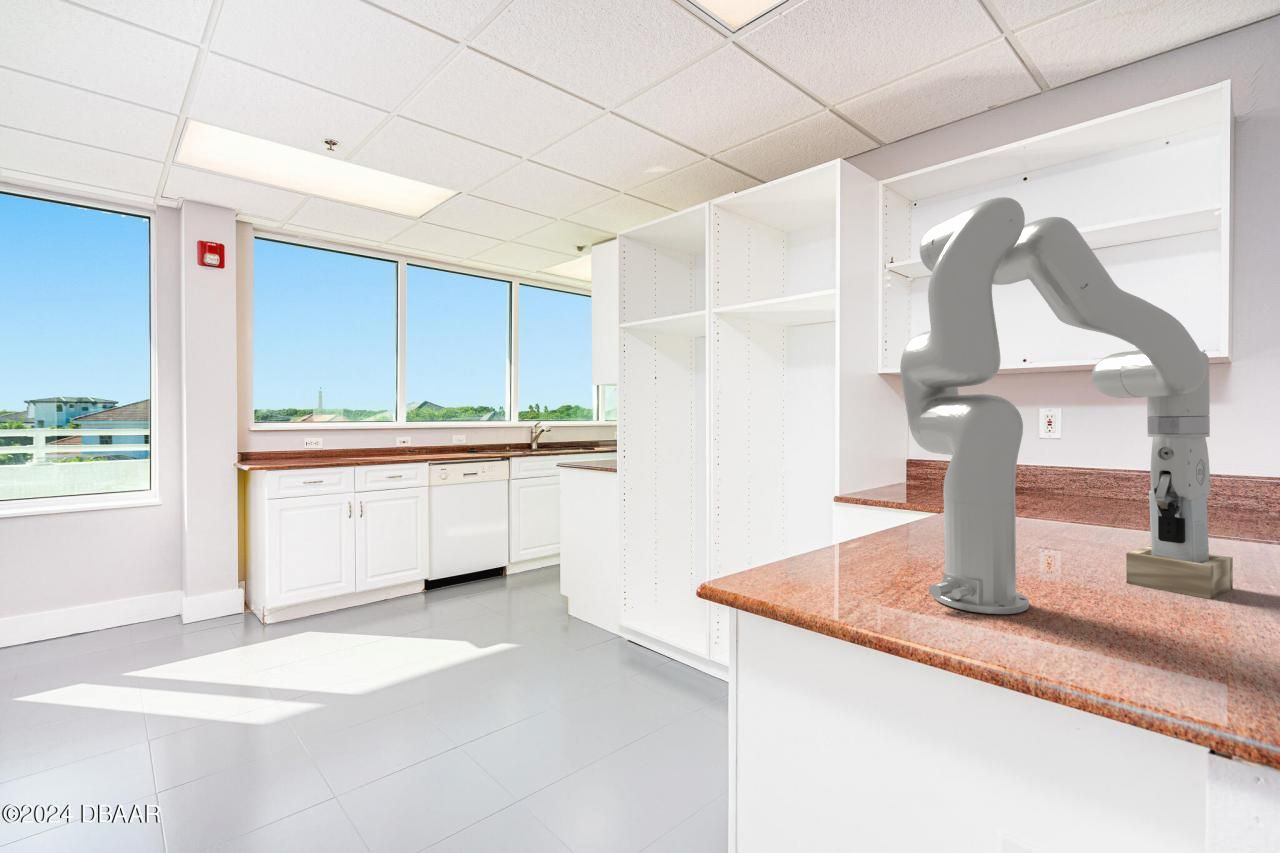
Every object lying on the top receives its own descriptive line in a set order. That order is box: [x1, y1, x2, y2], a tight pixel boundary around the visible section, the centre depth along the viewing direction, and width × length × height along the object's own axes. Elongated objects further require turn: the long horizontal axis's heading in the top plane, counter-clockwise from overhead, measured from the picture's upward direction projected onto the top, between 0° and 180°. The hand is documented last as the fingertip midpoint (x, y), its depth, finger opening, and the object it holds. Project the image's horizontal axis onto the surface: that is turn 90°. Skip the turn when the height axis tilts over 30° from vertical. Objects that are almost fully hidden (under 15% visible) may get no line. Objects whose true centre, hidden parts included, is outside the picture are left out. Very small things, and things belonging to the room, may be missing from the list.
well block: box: [1125, 545, 1234, 600], centre depth 98 cm, size 10×10×5 cm
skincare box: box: [1148, 490, 1210, 563], centre depth 97 cm, size 6×4×12 cm
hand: (1178, 538), depth 97 cm, fingers closed on skincare box, 4 cm apart
